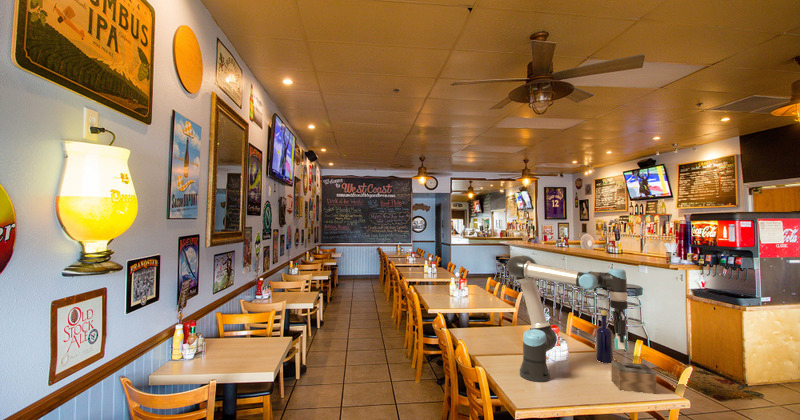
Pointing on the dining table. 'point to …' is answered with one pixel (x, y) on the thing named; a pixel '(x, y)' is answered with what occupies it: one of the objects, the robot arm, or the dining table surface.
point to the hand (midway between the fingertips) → (620, 347)
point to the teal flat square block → (617, 344)
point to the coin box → (633, 377)
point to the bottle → (604, 341)
